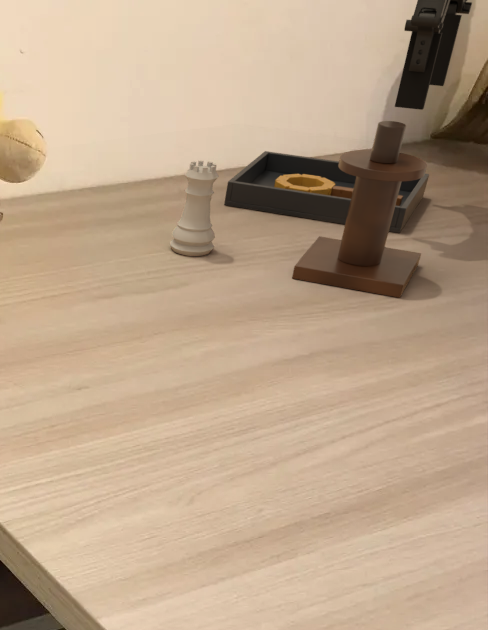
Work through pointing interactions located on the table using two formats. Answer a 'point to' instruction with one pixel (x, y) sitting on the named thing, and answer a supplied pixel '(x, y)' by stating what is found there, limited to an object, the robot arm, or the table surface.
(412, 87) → the robot arm
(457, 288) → the table surface
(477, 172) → the table surface
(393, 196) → the peg stand
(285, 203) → the tray
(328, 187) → the hanging ring
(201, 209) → the rook chess piece
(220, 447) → the table surface
